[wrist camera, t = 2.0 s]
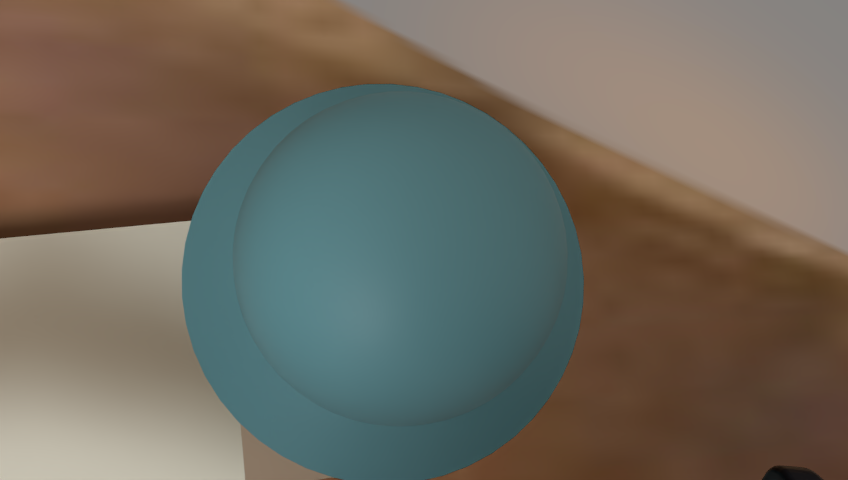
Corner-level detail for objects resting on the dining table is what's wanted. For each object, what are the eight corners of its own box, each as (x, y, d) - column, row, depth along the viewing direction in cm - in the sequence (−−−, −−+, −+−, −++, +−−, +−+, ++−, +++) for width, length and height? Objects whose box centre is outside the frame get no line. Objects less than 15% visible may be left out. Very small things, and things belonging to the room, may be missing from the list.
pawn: (474, 437, 17) (825, 538, 6) (239, 471, 16) (62, 678, 5) (443, 213, 18) (688, -108, 6) (219, 235, 17) (29, -91, 6)
